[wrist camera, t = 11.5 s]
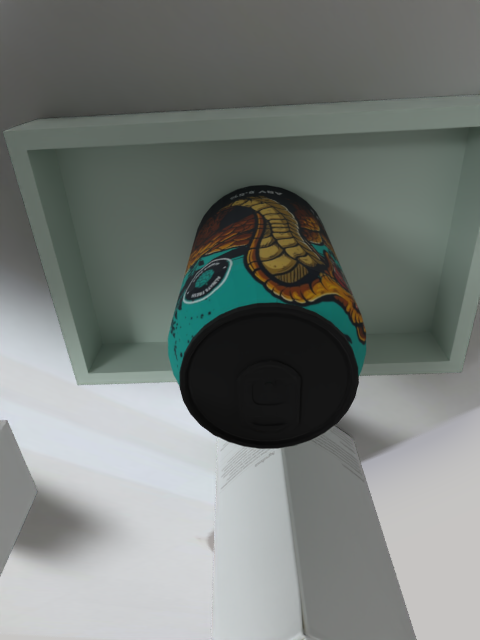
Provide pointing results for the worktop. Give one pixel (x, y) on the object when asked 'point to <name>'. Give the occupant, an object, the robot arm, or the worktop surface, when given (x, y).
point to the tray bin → (249, 170)
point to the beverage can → (265, 323)
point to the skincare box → (301, 547)
